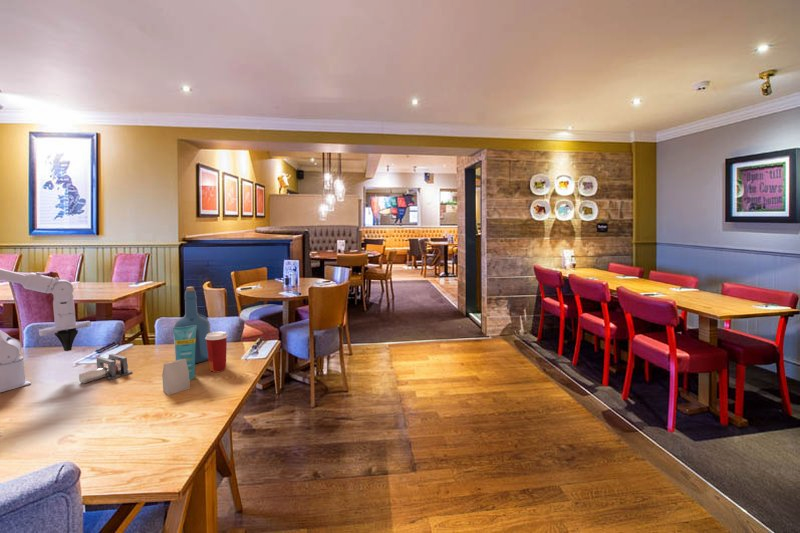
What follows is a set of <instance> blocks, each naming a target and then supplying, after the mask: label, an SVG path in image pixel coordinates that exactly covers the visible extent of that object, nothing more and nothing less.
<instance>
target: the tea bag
mask: <svg viewBox="0 0 800 533" xmlns="http://www.w3.org/2000/svg"><path fill="white" fill-rule="evenodd" d="M162 369H163V370H162V391H163V393H164V394H166V395H167V396H169V395H173V394H176V393H179V392H183V391H185V390H189V389H190V387H191V386H190V380H189V370H188V366H187V362H186V359H181V360H177V361H176V360H174V361H171V362H170V361H169V362H167V363H163V368H162Z"/></svg>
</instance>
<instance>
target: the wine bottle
mask: <svg viewBox="0 0 800 533" xmlns="http://www.w3.org/2000/svg"><path fill="white" fill-rule="evenodd" d="M196 292H197V291H196V290H195V287H194V286H187V287H186V290H185V292H184V298H183V299H184V300H185V301H184V303H185V307H184V308H185V309H184V310H185V314H184V316H182V317H181V318H179V319H178V320H176V321H175V322H174V324H173V328H176V327H186V326H193V325H197V329H196V342H195V364H200V363H202V362H206V361H207V360H208V351H207V342H206V339H205V337H206V335H207V334H208V333H211V323H210V322H209V319H208V317H207V316H205V315H204V314H202V313H199V312H198V304H197V303H198V302H197V298H198V297H197V293H196ZM173 342H174V357H175V358H174V359H175V361H177V351H176V344H175V338H174V337H173ZM208 361H209V360H208Z"/></svg>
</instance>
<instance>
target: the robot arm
mask: <svg viewBox="0 0 800 533" xmlns="http://www.w3.org/2000/svg"><path fill="white" fill-rule="evenodd" d="M0 281H4V282H5V281H6V282H9V283H10V282H11V283H16V284H20V285H21V286H22V288H23V289H25V290H30V291H34V292H39V293H44V294H52V296H53V302H52V306H53V317H54V319H53V320H54V326H50V327H45V328H43V329H38V336H41V337H44V336H46V335H51V334H54V336H56V337H57V339H58V340H59V342H60V344H61V345H62V349H63V351H65V352H70V351H72V349H73V348H72V347H73V343H74V341H75V338H76V337H77V335H78V332H79V330H77V329H82V328H89V327H91V321H90V320H86V321H85V320H84V321H79V322H77V321H76V320H77V319H76V309H75V306H76V305H75V300H74V294H73V292H74V285H73V283H72V282H71V281H69V280H68V279H66V278H59V277H58V276H55V277H52V276H48V275H43V274H42V272H40V271H37V272H36V273H34V272H30V273H27V274H22V273H20V272H15V271H12V270H7V269H4V268H0ZM22 345H23V344H22V343H21V341H20V340H19V339H16V338H13V337H12V336H10V335H9V334H7V333H6V332H5V331H3V330H2V329H0V393H3V392H7V391H10V390H11V391H12V390H14V389H18V388H21V387H24V386H29V385H31V384H32V382H30V381H29V380H26V374H25V373H26V371H25V362H24V361H25V360H24V356H23V355H21V354H20V352H21V350H22V347H23V346H22Z"/></svg>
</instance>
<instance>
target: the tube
mask: <svg viewBox="0 0 800 533" xmlns="http://www.w3.org/2000/svg"><path fill="white" fill-rule="evenodd" d="M196 329H197V325H193V326H186V327H176V328H174V327H172V332H173V339H174V338H175V344H176V351H177V360H181V359H186V362H187V366H188V370H189V381H191V380H193V379H195V376H196V374H195V372H196V365H195V364H196V363H195V342H196ZM175 344H174V345H175Z"/></svg>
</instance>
